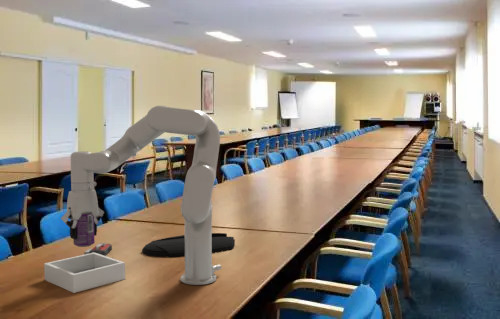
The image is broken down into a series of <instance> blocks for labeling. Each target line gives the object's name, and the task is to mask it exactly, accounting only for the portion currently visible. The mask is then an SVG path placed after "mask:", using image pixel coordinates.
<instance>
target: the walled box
mask: <svg viewBox="0 0 500 319" xmlns="http://www.w3.org/2000/svg"><path fill="white" fill-rule="evenodd" d="M43 265H44V280H45V281H46V282H48V283H51V284H53V285H54V286H55V285H56V286H58V287H60V288H62V289H65V291H68V292H71V293H73V294H75V293H78V292H81V291H82V292H83V291H86V290H89V289H93V288H97V287H100V286H104V285H108V284H113V283H115V282H119V281H120V282H121V281H123V280H126V262H124V261H121V260H118V259H116V258H112V257H110V256H107V255H106V256H104V255H101V254H98V253H95V252H94V253H90V254H85V255H84V254H81V255H76V256H74V257H73V256H71V257H67V258H63V259H59V260H53V261H50V262H49V261H48V262H45V263H43Z"/></svg>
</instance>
